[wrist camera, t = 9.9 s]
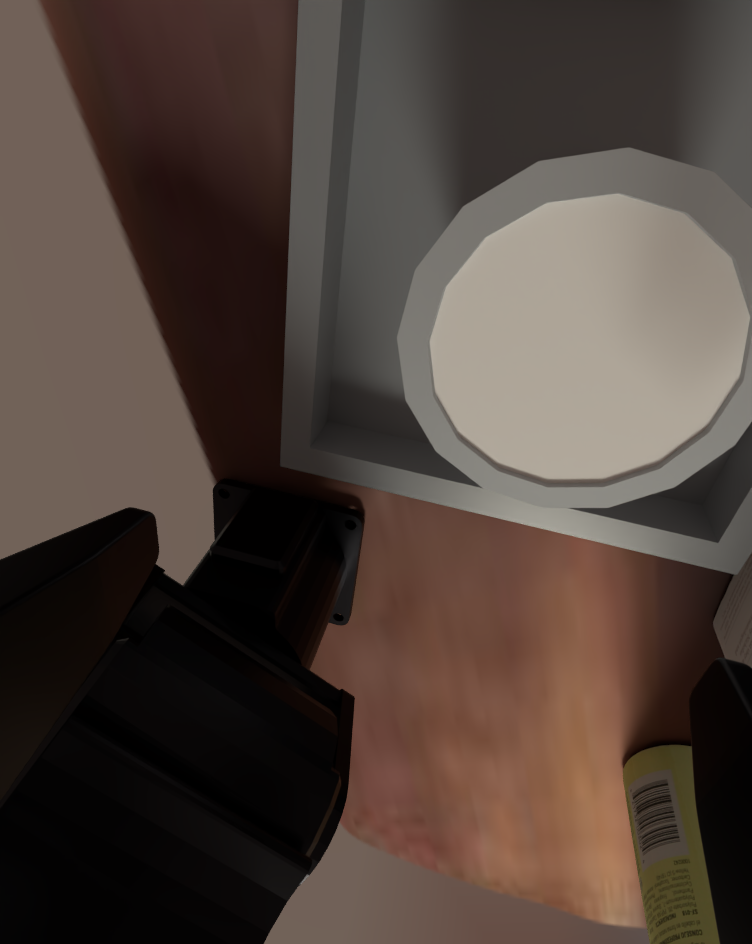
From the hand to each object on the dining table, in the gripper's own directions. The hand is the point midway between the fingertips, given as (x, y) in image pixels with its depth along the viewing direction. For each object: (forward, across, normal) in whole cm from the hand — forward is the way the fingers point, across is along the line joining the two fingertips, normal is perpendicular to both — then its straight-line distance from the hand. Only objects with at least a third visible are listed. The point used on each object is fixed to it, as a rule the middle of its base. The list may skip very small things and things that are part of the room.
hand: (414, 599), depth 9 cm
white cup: (+11, -2, -3) cm, 12 cm away
